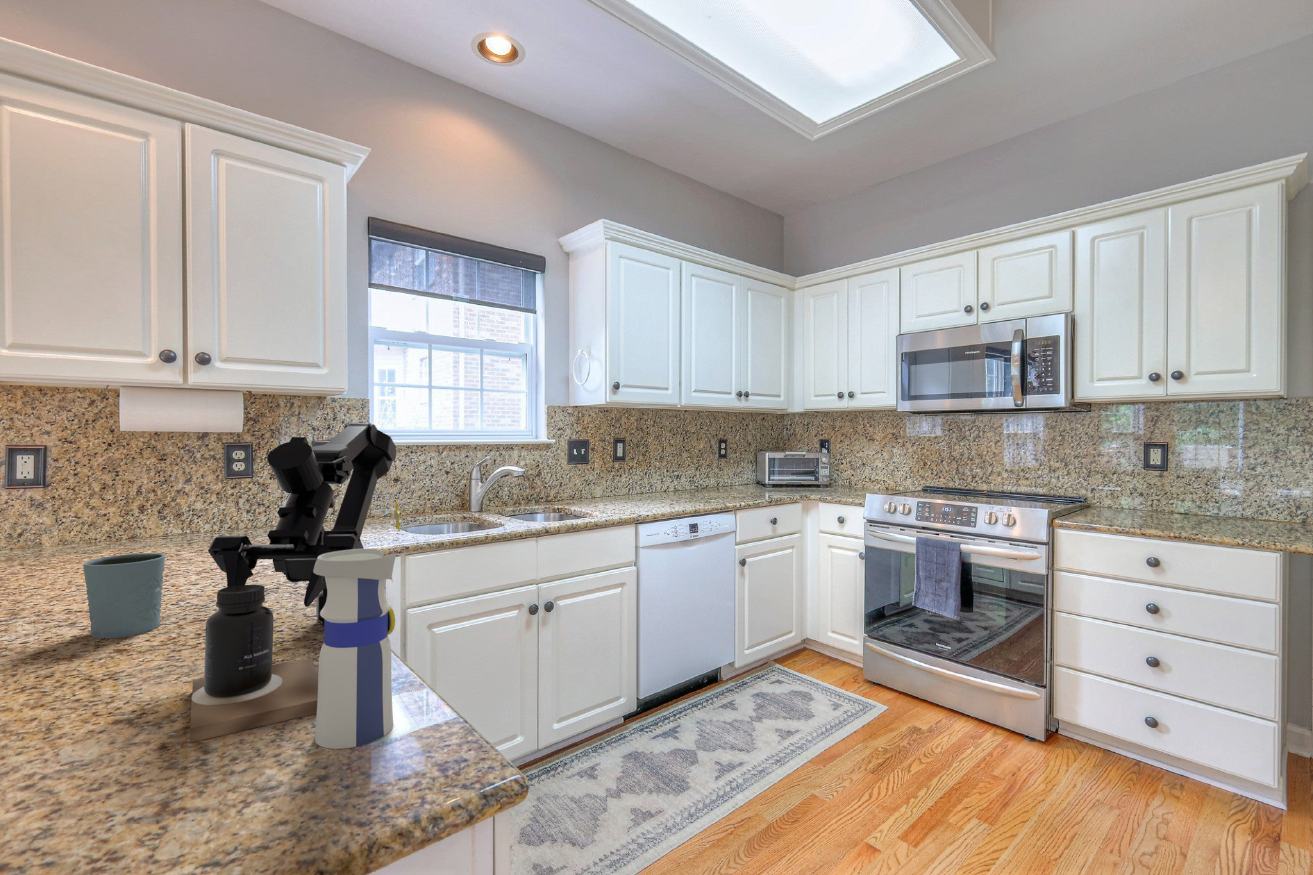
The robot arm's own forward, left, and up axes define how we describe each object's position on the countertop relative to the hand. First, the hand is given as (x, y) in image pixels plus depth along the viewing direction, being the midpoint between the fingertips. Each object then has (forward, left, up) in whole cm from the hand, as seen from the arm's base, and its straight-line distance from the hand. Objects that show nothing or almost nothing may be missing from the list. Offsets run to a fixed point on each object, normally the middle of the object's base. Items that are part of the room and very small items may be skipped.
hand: (269, 606), depth 80 cm
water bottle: (-6, +23, -10) cm, 26 cm away
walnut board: (+2, +8, -9) cm, 12 cm away
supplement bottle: (+3, +7, -8) cm, 11 cm away
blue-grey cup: (+18, -37, -10) cm, 42 cm away
